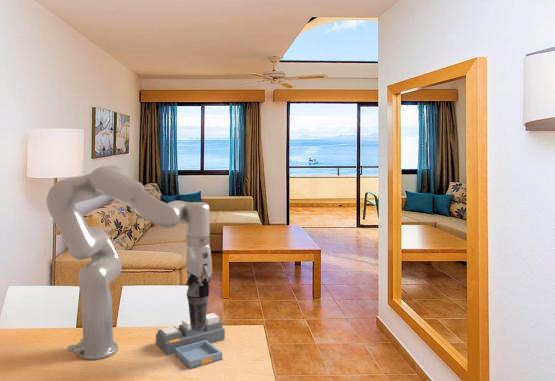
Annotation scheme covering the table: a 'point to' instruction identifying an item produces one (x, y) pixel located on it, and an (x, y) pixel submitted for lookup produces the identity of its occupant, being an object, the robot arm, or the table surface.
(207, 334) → the grey switch block
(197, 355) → the tray
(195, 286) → the beverage cup
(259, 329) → the table surface
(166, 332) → the block
